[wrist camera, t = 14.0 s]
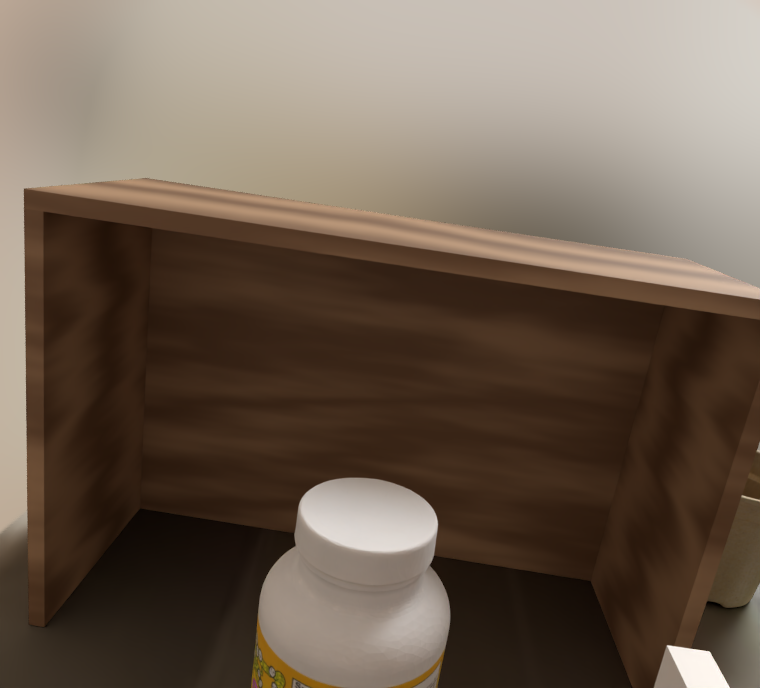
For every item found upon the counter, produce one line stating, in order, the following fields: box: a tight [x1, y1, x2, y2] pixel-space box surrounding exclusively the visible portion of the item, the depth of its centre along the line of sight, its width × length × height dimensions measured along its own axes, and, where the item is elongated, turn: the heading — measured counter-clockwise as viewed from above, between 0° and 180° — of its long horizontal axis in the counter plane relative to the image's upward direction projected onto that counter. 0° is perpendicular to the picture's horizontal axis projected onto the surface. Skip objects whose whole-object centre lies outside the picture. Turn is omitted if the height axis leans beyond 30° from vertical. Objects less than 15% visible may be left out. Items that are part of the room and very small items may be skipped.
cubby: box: [24, 178, 760, 688], centre depth 35 cm, size 12×32×21 cm, turn 87°
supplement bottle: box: [251, 478, 450, 688], centre depth 24 cm, size 7×7×13 cm
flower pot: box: [707, 450, 760, 608], centre depth 44 cm, size 9×9×9 cm
